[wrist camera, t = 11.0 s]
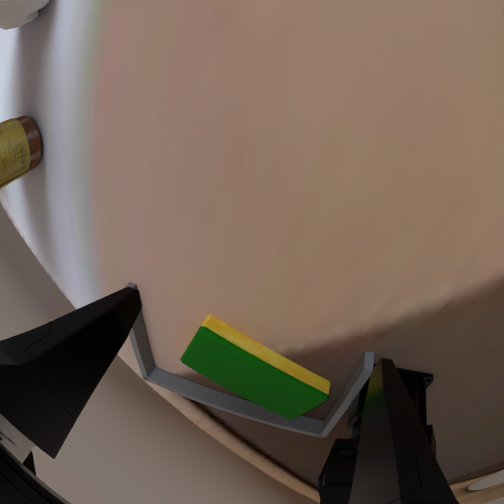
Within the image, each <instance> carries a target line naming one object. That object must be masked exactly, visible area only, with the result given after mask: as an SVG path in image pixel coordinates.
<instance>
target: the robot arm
mask: <svg viewBox="0 0 504 504" xmlns="http://www.w3.org/2000/svg"><path fill="white" fill-rule="evenodd" d="M141 309H142V303H141V298H140V293H139V290H138V289H136V288H133V287H126V288H124V289H122V290H119V291H117V292H115V293H113V294H110V295H108V296H106V297H104V298H101V299H99V300H97V301H95V302H92V303H90V304H88V305H86V306H84V307H81V308H79V309H77V310H75V311H73V312H70V313H68V314H66V315H64V316H62V317H59V318H57V319H55V320H54V321H51V322H48V323H46V324H44V325H42V326H39V327H37V328H35V329H32V330H30V331H27V332H25V333H21V334H19V335H16V336H13V337H11V338H8V339H5V340H1V341H0V504H71V503H69V502H68V501H67V500H65V499H64V498H63V497H61V496H60V495H59V494H57V493H56V492H55V491H53V490H52V489H51V488H50V487H48V486H47V485H46V484H45V483H43V482H42V481H41V480H40V479H39V478H38V477H36V472H35V466H34V460H33V454H32V451H31V450H32V449H33V447H34V446H35V445H36V446H38V447H39V448H40V449H41V450H43V451H44V452H45V453H46V454H48V455H49V456H51V457H52V458H53V459H54V458H55V457H56V455H57V454H58V452H59V450H60V448H61V446H62V445H63V443H64V441H65V439H66V438H67V436H68V434H69V432H70V431H71V429H72V427H73V425H74V423H75V422H76V420H77V418H78V417H79V415H80V413H81V411H82V410H83V408H84V406H85V405H86V403H87V401H88V400H89V398H90V396H91V395H92V393H93V391H94V390H95V388H96V386H97V385H98V383H99V382H100V380H101V378H102V377H103V375H104V373H105V372H106V370H107V369H108V367H109V366H110V364H111V362H112V361H113V359H114V358H115V356H116V355H117V353H118V352H119V350H120V348H121V347H122V345H123V344H124V342H125V340H126V339H127V337H128V335H129V333H130V331H131V329H132V327H133V325H134V323H135V321H136V319H137V317H138V315H139V313H140V311H141ZM433 380H434V378H433V375H432V374H428V373H422V372H416V371H410V370H405V369H400V368H396V366H395V364H394V362H393V361H392V360H391V359H388V358H383V357H382V358H380V359H379V361H378V362H377V364H376V365H373V371H372V373H371V375H370V376H369V378H368V380H367V381H366V383H365V384H364V386H363V387H362V389H361V390H360V391H359V393H358V394H357V395H356V397H355V398H354V400H353V401H352V403H351V406H350V413H349V419H348V428H349V429H353V430H352V436H351V438H350V439H342V438H340V439H336V440H335V443H334V445H333V447H332V449H331V451H330V454H329V456H328V458H327V461H326V463H325V465H324V467H323V470H322V472H321V474H320V476H319V482H318V485H319V495H320V504H459V503H458V501H457V500H456V498H455V496H454V494H453V492H452V490H451V488H450V486H449V484H448V482H447V480H446V478H445V477H444V475H443V473H442V471H441V469H440V466H439V464H438V462H437V460H436V441H435V436H434V431H433V426H432V425H427V411H426V389H427V388H428V386H429V385H430V384H431V383H432V382H433Z"/></svg>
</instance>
